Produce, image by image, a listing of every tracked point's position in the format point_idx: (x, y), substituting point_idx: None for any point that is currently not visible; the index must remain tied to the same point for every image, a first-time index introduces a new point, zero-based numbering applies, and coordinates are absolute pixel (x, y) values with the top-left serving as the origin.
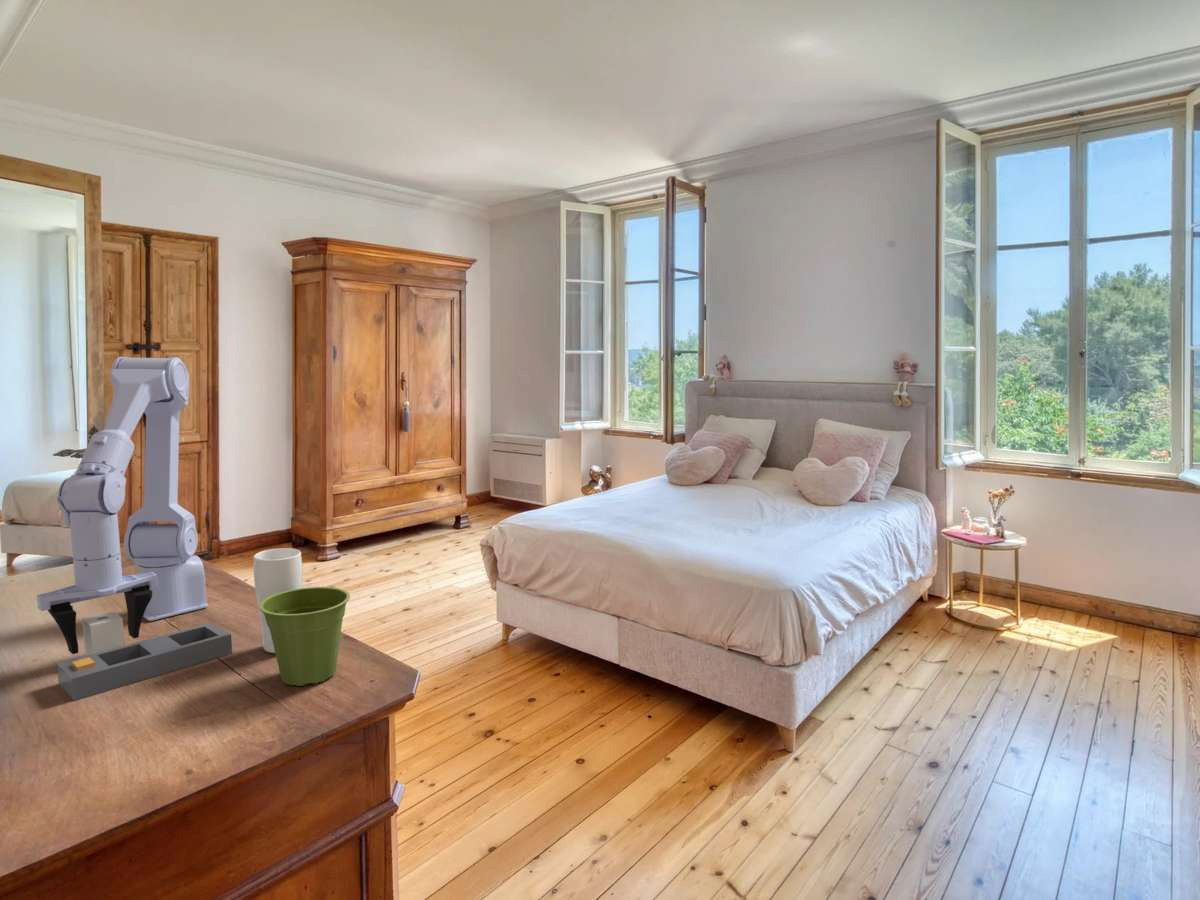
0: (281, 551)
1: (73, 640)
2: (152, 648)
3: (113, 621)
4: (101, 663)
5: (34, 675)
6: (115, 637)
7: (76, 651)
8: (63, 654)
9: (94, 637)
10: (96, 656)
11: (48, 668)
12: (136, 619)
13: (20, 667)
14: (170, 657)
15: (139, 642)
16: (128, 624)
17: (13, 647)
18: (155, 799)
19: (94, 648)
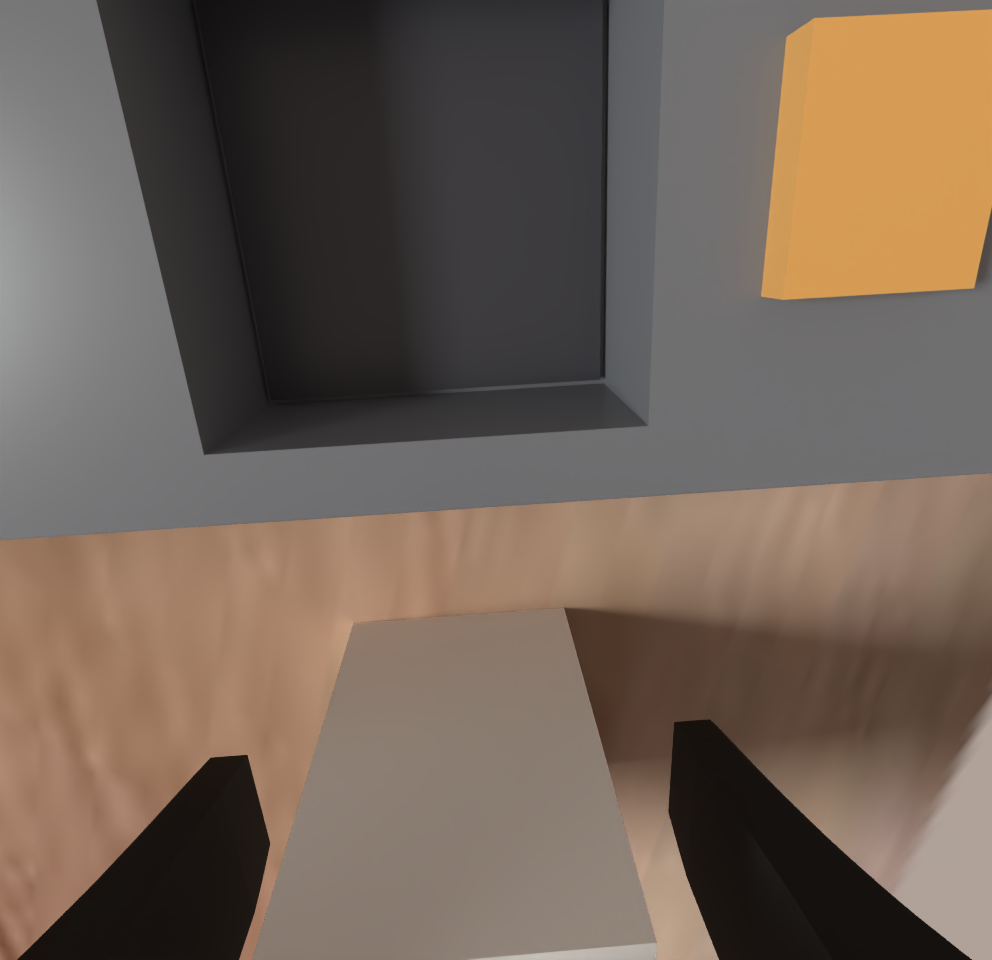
0: None
1: (771, 812)
2: (55, 153)
3: (370, 946)
4: (705, 67)
5: (878, 676)
6: (390, 752)
7: (695, 729)
8: (648, 876)
9: (585, 787)
10: (663, 387)
11: (782, 731)
12: (108, 929)
13: (873, 834)
14: None
15: (194, 493)
16: (234, 950)
17: None
18: None
19: (573, 696)
